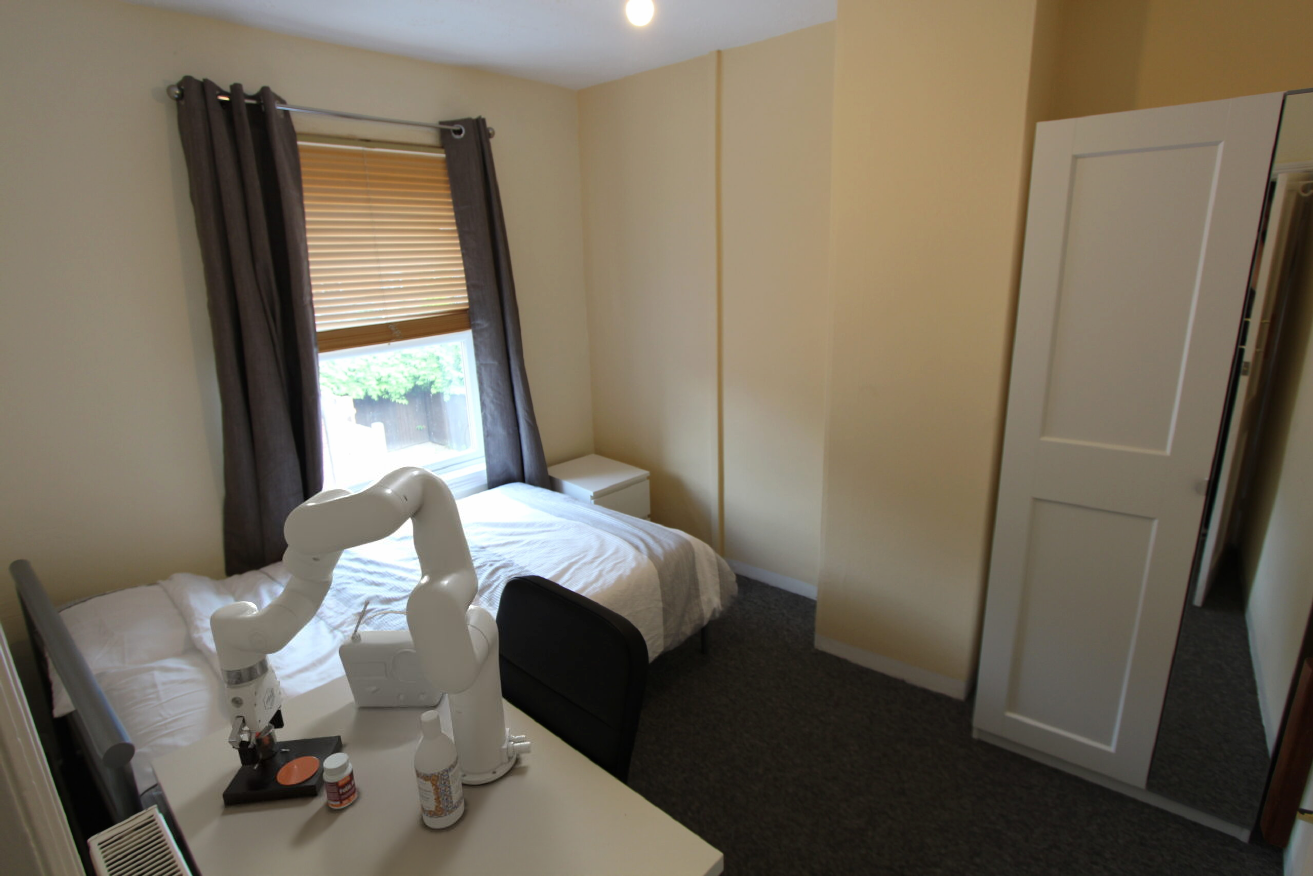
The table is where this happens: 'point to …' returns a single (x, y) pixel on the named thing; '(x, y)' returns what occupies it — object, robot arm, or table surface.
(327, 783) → the pill bottle
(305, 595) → the robot arm
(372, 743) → the table surface
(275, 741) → the hob knob
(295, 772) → the burner ring
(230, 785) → the hob
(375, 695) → the radio
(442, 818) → the bath foam
